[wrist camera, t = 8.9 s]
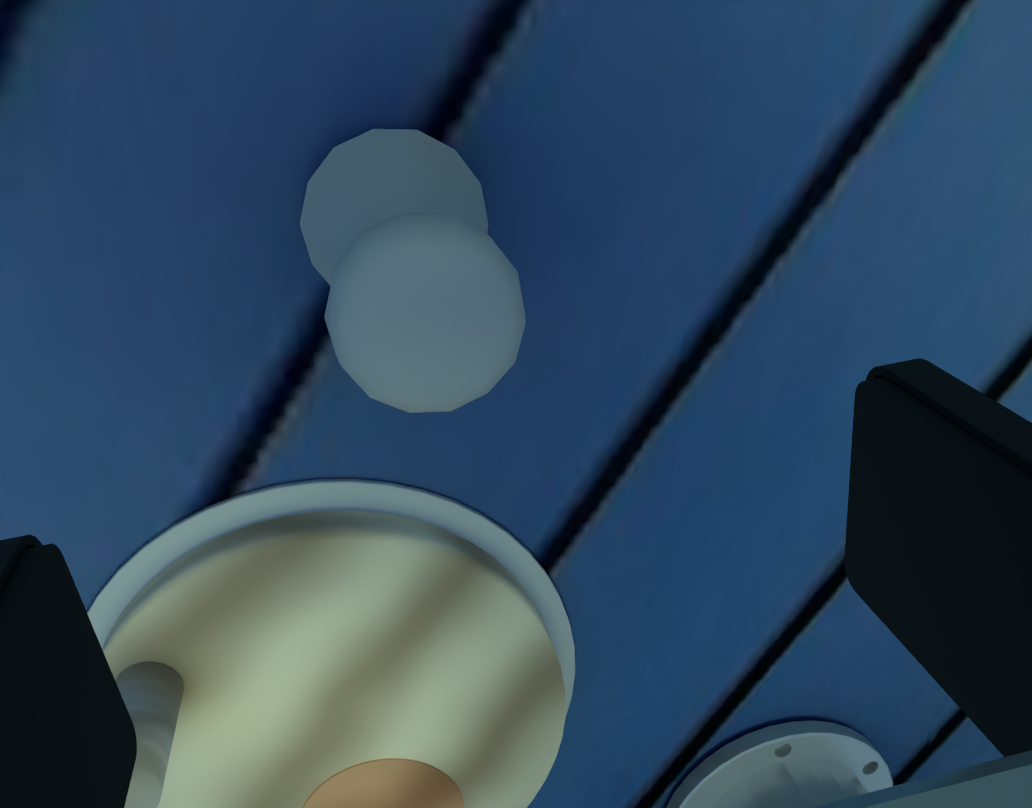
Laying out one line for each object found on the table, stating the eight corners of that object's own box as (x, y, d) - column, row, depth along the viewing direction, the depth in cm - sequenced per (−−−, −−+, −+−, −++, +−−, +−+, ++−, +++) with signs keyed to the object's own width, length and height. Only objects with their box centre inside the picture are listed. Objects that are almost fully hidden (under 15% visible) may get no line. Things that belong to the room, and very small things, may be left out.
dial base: (590, 807, 43) (595, 820, 42) (154, 917, 40) (151, 933, 40) (548, 431, 34) (553, 440, 33) (-16, 542, 32) (-25, 554, 31)
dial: (636, 608, 38) (698, 727, 31) (422, 904, 43) (439, 1058, 36) (213, 433, 31) (183, 541, 25) (15, 810, 36) (-52, 980, 29)
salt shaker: (452, 306, 31) (527, 479, 20) (289, 273, 30) (266, 440, 18) (493, 142, 29) (603, 228, 18) (321, 97, 28) (317, 159, 16)
